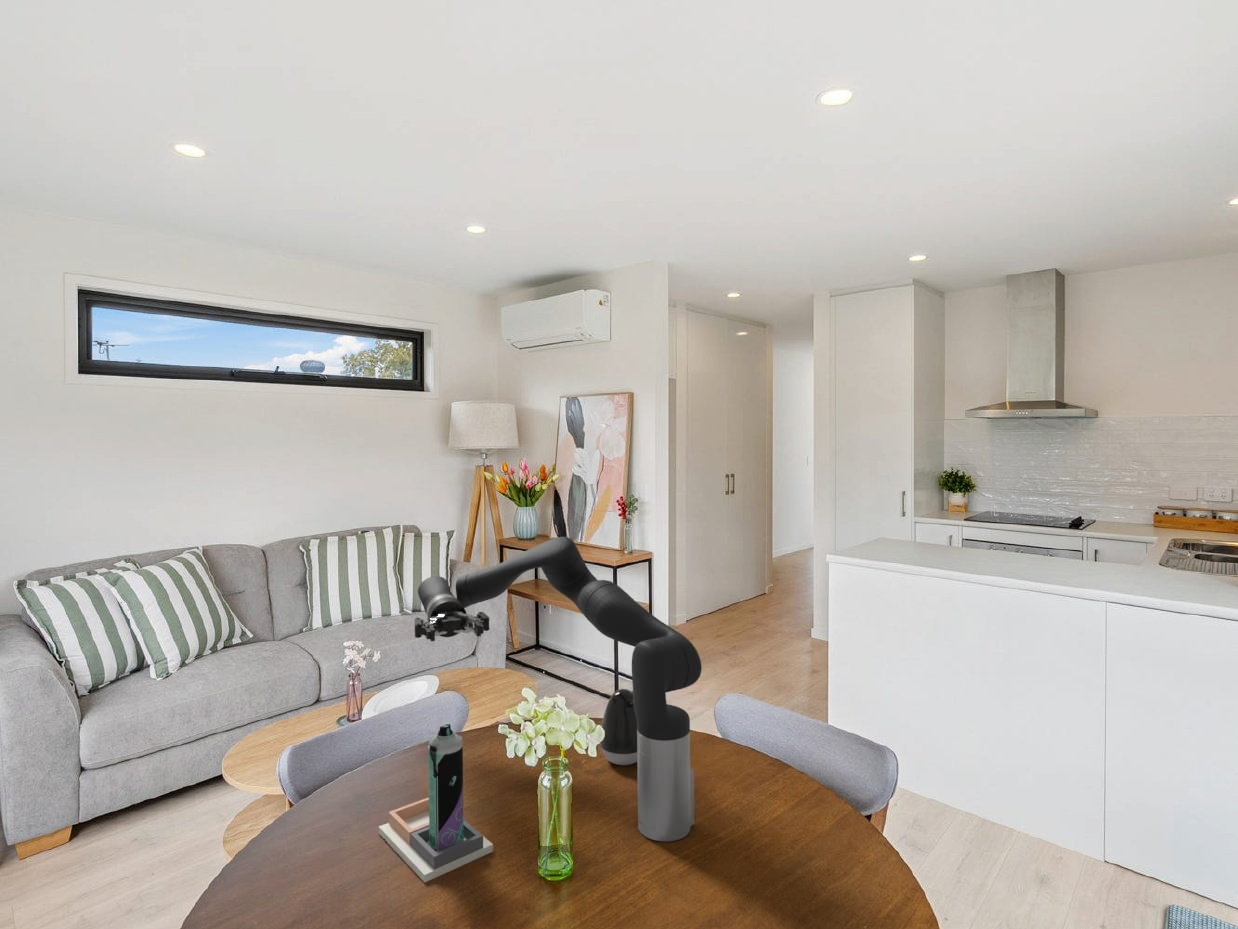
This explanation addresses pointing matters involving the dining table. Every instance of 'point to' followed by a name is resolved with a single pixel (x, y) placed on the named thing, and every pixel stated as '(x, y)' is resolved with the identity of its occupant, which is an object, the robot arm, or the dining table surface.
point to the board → (413, 847)
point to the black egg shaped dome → (620, 729)
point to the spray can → (445, 789)
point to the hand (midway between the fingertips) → (456, 633)
